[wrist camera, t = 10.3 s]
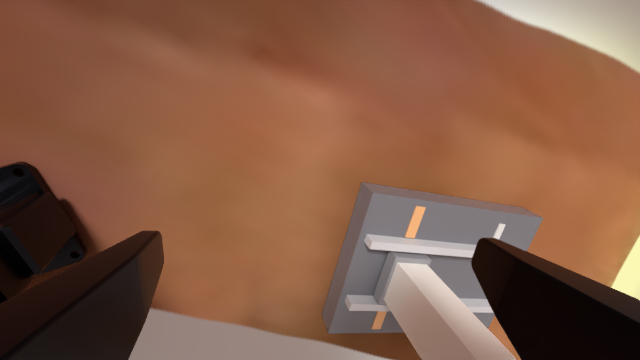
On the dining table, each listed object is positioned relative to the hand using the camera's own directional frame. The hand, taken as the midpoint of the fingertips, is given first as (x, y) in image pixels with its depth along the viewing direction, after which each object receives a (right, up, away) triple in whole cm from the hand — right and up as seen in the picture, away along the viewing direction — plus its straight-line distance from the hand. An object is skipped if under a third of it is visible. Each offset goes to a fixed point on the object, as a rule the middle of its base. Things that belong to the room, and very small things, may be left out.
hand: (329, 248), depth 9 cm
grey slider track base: (+9, -5, +18) cm, 21 cm away
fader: (+6, -5, +15) cm, 17 cm away
